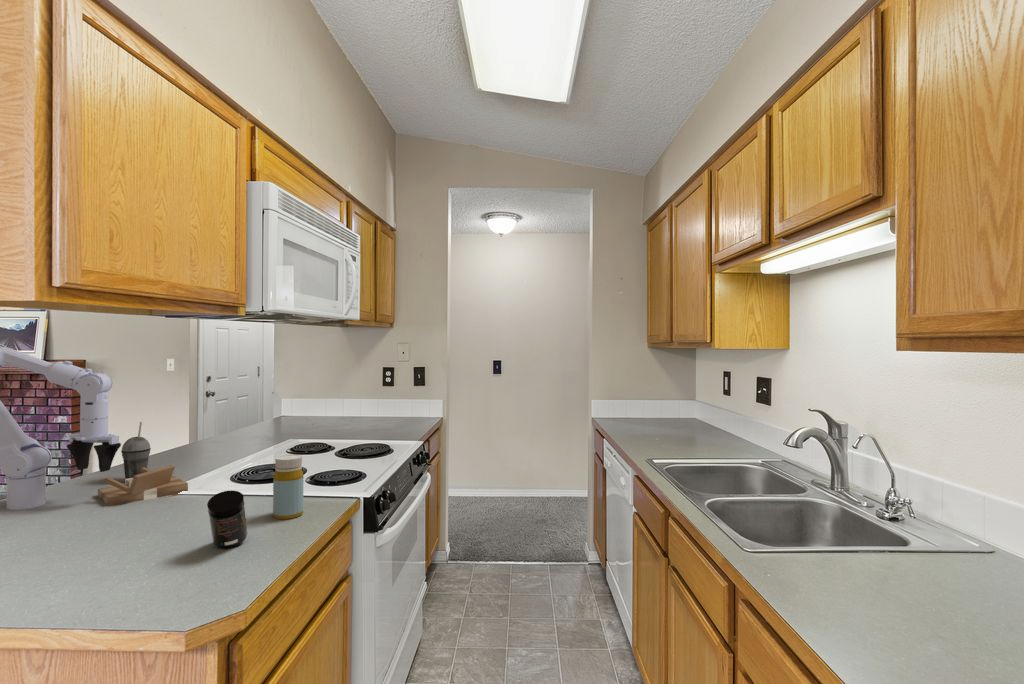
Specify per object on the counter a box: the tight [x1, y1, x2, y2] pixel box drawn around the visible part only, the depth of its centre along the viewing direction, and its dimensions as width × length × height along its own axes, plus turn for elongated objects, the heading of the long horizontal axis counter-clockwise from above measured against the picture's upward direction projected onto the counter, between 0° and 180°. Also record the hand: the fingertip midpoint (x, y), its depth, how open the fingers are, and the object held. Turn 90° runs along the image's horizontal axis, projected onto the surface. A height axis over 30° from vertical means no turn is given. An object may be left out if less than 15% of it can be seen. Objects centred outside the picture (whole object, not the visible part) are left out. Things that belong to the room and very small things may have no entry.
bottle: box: [272, 454, 304, 520], centre depth 129 cm, size 7×7×15 cm
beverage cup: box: [120, 421, 151, 480], centre depth 154 cm, size 7×7×20 cm
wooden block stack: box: [97, 475, 189, 507], centre depth 141 cm, size 14×18×6 cm
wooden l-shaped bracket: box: [103, 464, 175, 495], centre depth 139 cm, size 9×12×5 cm
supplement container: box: [207, 490, 248, 550], centre depth 108 cm, size 7×7×10 cm
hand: (93, 470), depth 133 cm, fingers open, 7 cm apart
